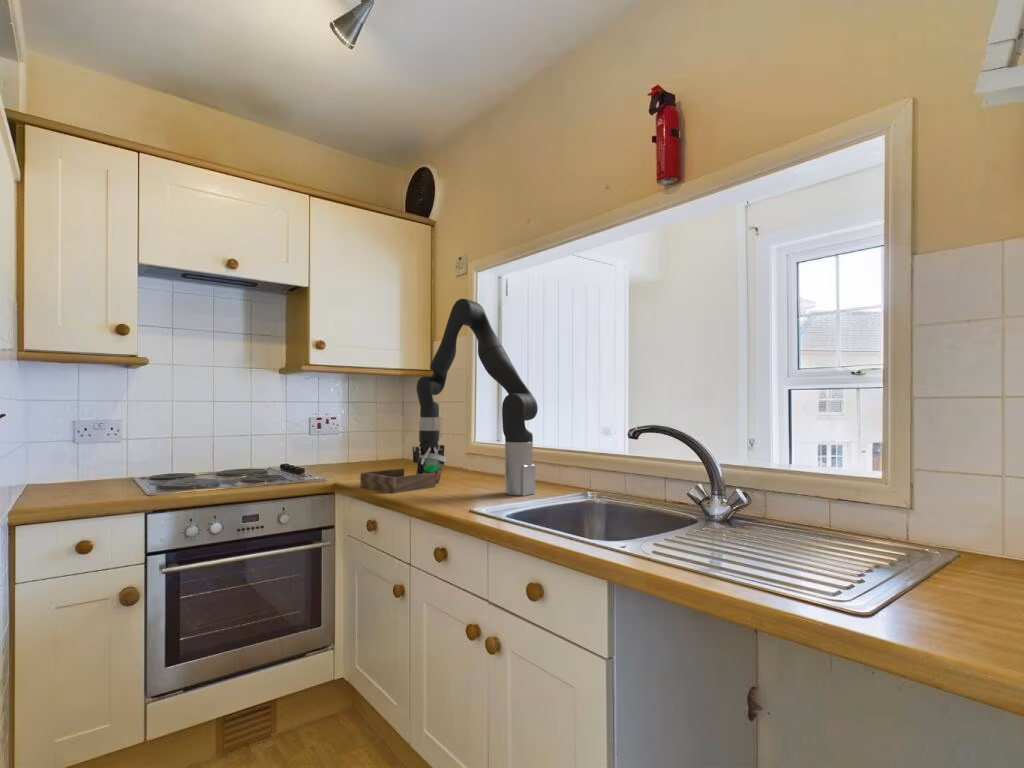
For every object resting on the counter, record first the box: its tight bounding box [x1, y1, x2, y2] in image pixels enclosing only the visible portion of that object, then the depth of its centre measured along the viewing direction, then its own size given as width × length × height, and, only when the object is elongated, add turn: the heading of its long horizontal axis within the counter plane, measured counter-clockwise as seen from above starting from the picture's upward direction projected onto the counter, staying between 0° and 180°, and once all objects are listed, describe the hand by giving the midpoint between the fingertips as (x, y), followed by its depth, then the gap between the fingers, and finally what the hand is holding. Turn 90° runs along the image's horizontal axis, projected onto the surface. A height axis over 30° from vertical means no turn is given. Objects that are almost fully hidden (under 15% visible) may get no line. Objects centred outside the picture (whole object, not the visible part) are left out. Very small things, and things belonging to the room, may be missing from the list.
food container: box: [415, 452, 447, 484], centre depth 203 cm, size 12×6×10 cm, turn 65°
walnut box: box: [359, 467, 436, 494], centre depth 193 cm, size 19×18×5 cm
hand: (428, 473), depth 204 cm, fingers closed on food container, 6 cm apart
